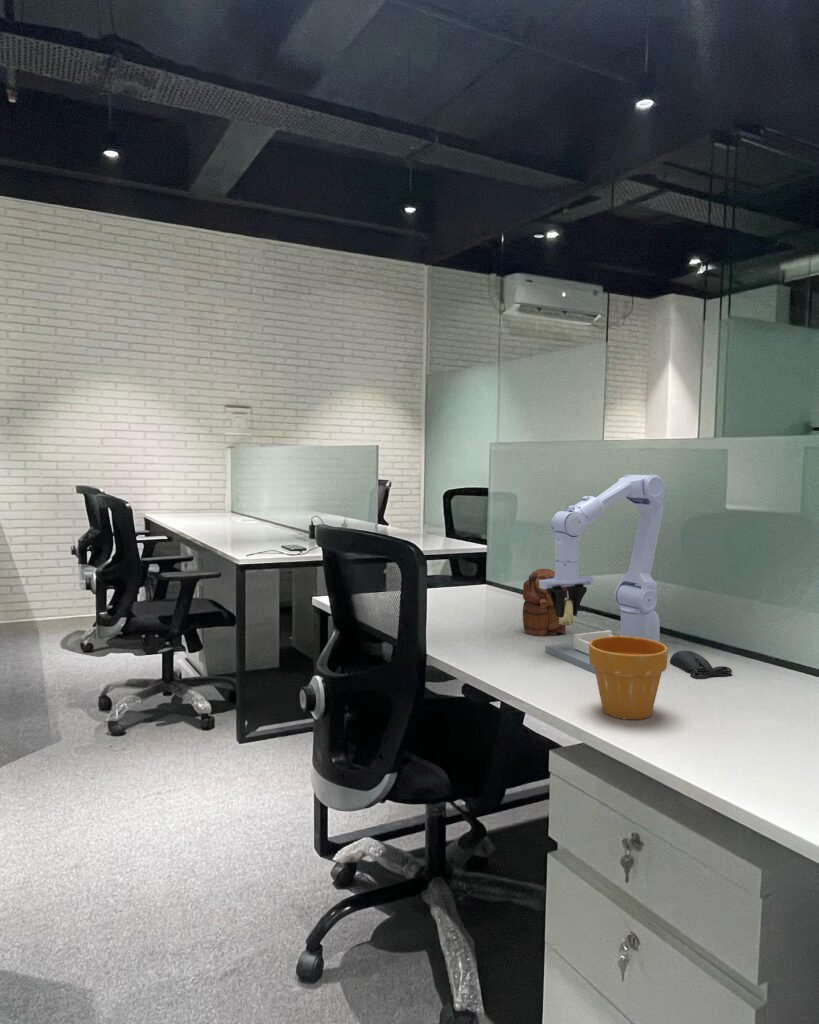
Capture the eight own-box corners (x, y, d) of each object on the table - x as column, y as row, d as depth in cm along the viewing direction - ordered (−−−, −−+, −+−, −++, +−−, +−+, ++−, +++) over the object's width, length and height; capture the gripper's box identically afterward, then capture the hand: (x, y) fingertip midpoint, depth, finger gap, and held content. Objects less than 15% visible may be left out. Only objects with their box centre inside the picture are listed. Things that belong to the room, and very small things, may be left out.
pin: (567, 621, 177) (568, 597, 176) (576, 624, 174) (576, 599, 173) (556, 622, 176) (556, 598, 175) (564, 625, 172) (564, 601, 172)
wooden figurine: (528, 637, 194) (529, 571, 193) (521, 631, 200) (521, 567, 199) (570, 635, 196) (570, 570, 195) (561, 629, 202) (561, 566, 201)
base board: (597, 645, 185) (597, 631, 185) (664, 670, 163) (664, 654, 163) (545, 651, 179) (545, 637, 178) (607, 678, 157) (607, 662, 156)
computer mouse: (694, 660, 172) (694, 644, 172) (735, 678, 158) (736, 661, 158) (657, 663, 170) (657, 647, 170) (696, 681, 156) (696, 664, 155)
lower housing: (608, 643, 179) (609, 630, 179) (635, 653, 170) (635, 639, 170) (573, 648, 175) (573, 634, 174) (598, 658, 166) (599, 643, 165)
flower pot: (621, 730, 126) (623, 658, 125) (573, 705, 139) (573, 640, 138) (683, 718, 132) (684, 649, 131) (630, 696, 145) (631, 632, 144)
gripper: (581, 557, 180) (581, 610, 181) (532, 560, 174) (532, 615, 175) (599, 560, 173) (598, 615, 174) (548, 564, 168) (548, 621, 169)
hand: (566, 616), depth 174 cm, fingers closed on pin, 3 cm apart
